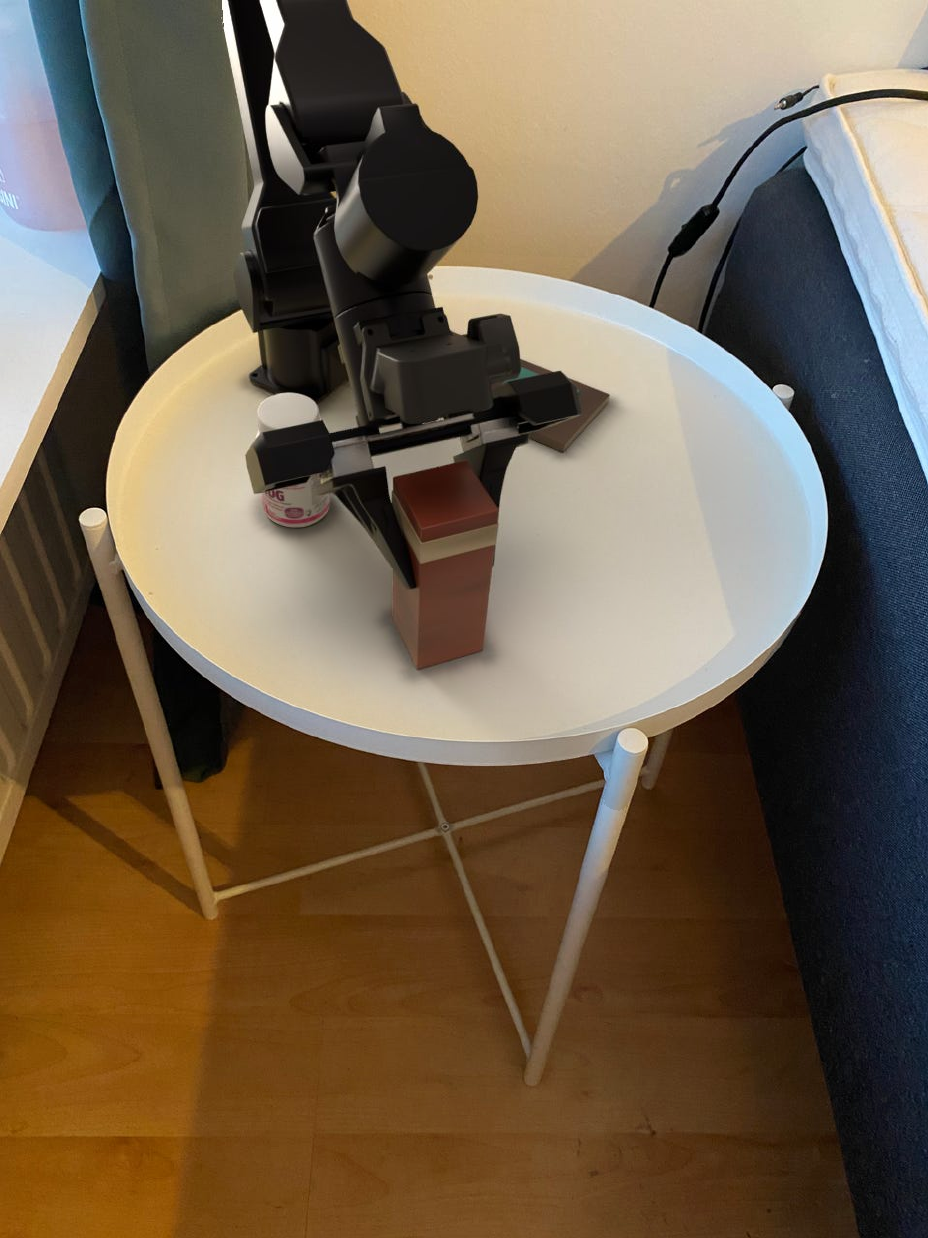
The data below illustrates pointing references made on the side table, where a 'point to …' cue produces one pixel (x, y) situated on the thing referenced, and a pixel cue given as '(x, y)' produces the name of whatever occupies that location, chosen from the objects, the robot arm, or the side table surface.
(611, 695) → the side table surface
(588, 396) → the word board
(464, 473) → the reddish-brown banded box
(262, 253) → the robot arm
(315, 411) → the pill bottle
